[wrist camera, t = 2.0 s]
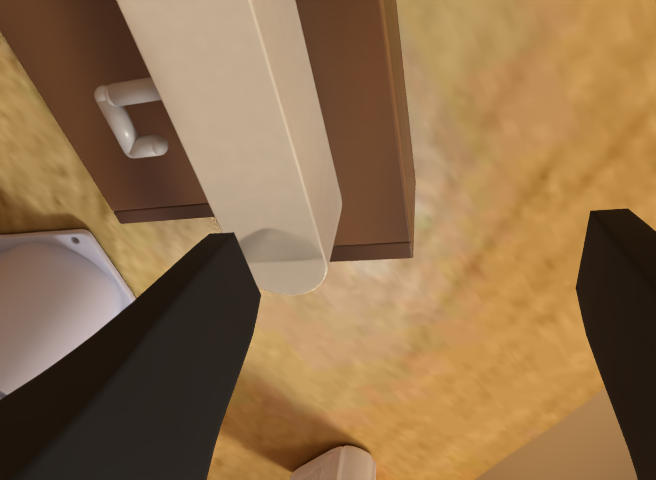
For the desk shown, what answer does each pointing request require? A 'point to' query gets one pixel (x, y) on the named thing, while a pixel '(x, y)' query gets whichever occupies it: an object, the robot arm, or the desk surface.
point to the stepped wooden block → (174, 166)
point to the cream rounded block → (239, 126)
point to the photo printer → (338, 466)
